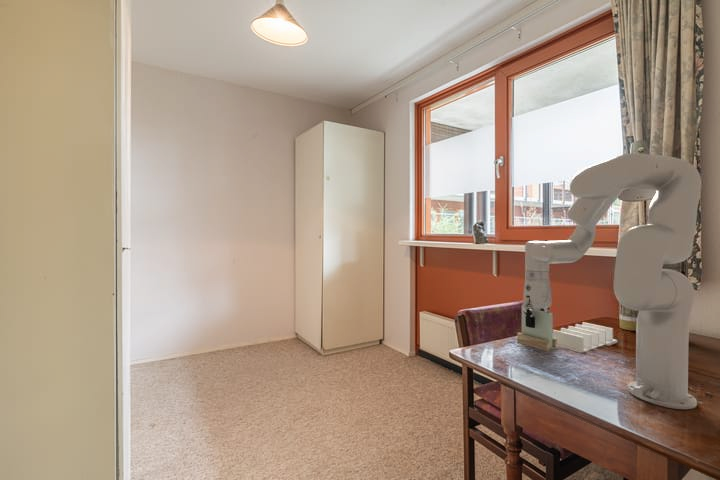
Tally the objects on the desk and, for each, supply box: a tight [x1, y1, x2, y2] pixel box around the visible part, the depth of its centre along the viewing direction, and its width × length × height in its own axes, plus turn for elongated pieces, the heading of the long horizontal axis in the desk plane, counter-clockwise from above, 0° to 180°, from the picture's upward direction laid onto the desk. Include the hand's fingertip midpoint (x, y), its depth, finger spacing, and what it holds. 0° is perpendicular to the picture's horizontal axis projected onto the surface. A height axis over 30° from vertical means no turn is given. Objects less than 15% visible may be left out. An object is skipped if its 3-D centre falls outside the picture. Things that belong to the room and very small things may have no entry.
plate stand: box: [516, 332, 560, 352], centre depth 118 cm, size 7×12×4 cm, turn 30°
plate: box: [520, 308, 554, 348], centre depth 118 cm, size 2×10×12 cm, turn 30°
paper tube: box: [619, 302, 639, 332], centre depth 138 cm, size 7×7×25 cm
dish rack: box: [553, 321, 618, 354], centre depth 120 cm, size 25×11×6 cm, turn 120°
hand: (536, 325), depth 118 cm, fingers open, 6 cm apart
